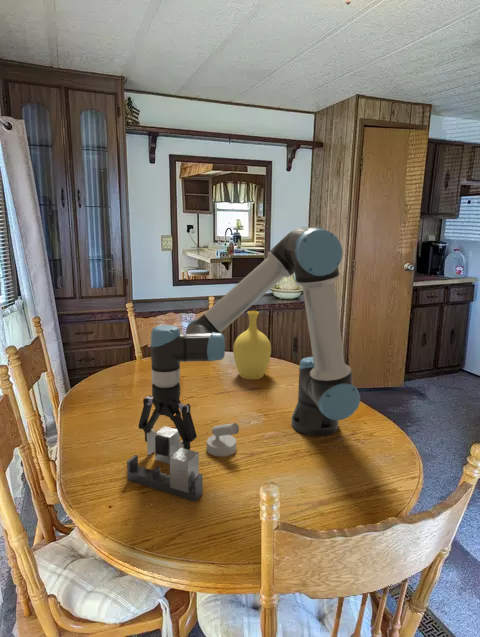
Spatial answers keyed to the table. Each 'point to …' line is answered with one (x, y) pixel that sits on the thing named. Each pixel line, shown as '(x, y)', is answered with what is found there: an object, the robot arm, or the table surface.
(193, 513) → the table surface
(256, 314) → the vase
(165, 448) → the light grey block
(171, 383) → the robot arm
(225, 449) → the wall hook
